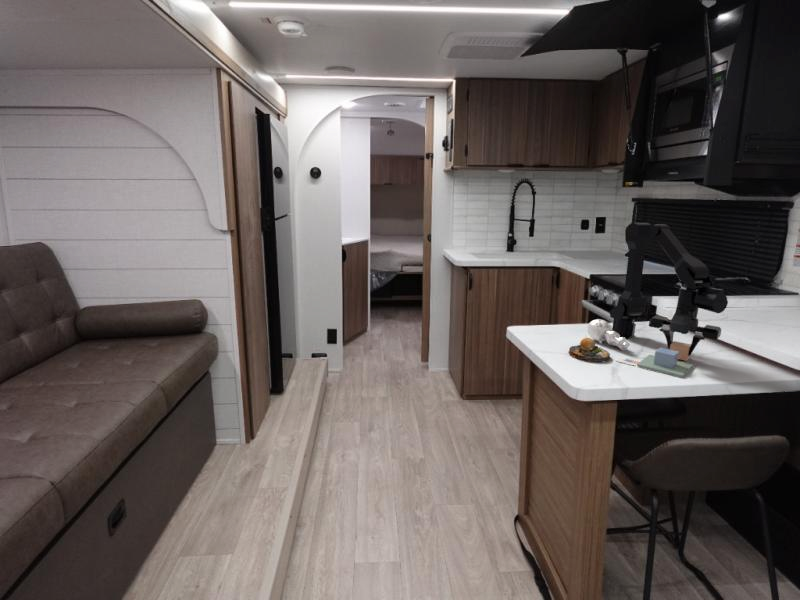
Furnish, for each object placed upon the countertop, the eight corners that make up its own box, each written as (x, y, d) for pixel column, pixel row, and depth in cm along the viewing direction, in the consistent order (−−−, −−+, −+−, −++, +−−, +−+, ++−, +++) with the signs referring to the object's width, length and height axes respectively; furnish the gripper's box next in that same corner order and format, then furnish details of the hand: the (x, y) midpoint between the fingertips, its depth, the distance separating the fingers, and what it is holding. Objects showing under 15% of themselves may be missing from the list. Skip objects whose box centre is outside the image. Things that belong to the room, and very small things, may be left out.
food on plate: (617, 362, 149) (620, 338, 148) (582, 364, 147) (585, 340, 145) (593, 349, 161) (596, 327, 159) (561, 351, 158) (563, 328, 156)
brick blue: (658, 360, 149) (660, 347, 148) (676, 364, 146) (678, 351, 145) (653, 364, 146) (655, 351, 145) (672, 368, 142) (674, 355, 141)
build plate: (637, 366, 145) (637, 364, 145) (649, 356, 154) (649, 354, 154) (682, 378, 138) (682, 375, 137) (692, 367, 146) (692, 364, 146)
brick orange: (668, 356, 154) (670, 344, 153) (671, 352, 157) (673, 340, 156) (686, 360, 150) (688, 348, 150) (689, 356, 154) (691, 344, 153)
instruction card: (616, 361, 149) (616, 360, 149) (622, 356, 154) (622, 356, 154) (644, 368, 144) (644, 367, 144) (650, 363, 148) (650, 362, 148)
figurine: (624, 328, 155) (593, 308, 168) (607, 344, 156) (577, 323, 169) (636, 347, 161) (606, 326, 174) (619, 362, 161) (590, 340, 174)
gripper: (647, 303, 150) (639, 352, 154) (718, 315, 138) (708, 368, 142) (657, 297, 158) (650, 344, 162) (725, 308, 146) (716, 358, 150)
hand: (679, 353), depth 154 cm, fingers closed on brick orange, 5 cm apart
